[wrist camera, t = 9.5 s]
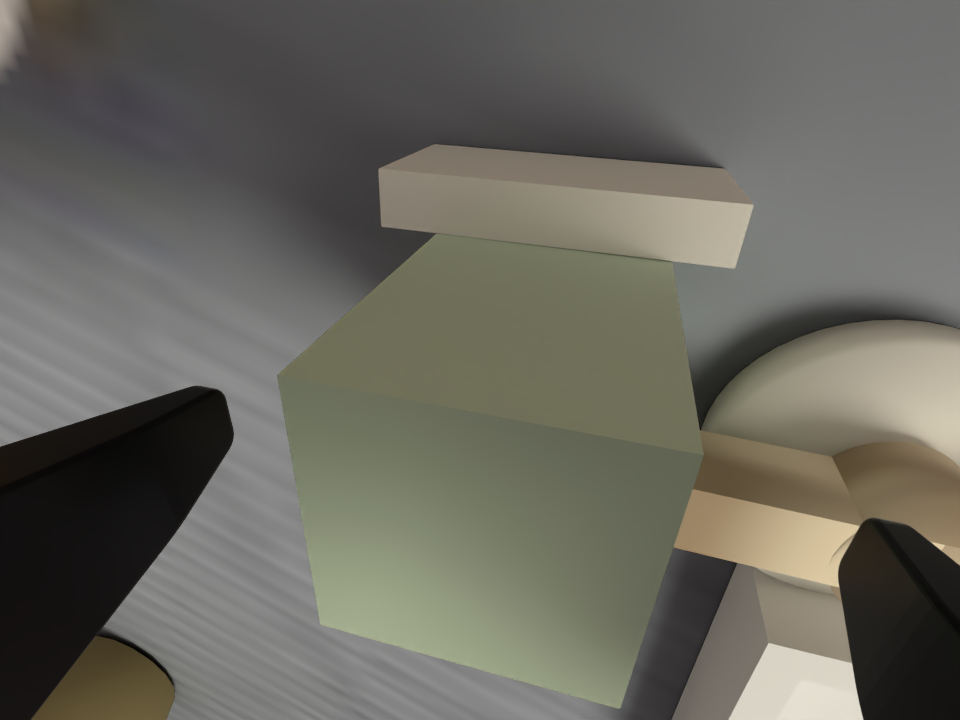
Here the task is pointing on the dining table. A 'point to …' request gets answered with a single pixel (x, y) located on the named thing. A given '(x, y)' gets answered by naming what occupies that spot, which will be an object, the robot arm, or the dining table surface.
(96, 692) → the squeeze bottle
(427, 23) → the dining table surface
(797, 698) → the tray
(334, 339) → the block
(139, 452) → the robot arm
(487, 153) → the crank housing
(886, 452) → the crank
